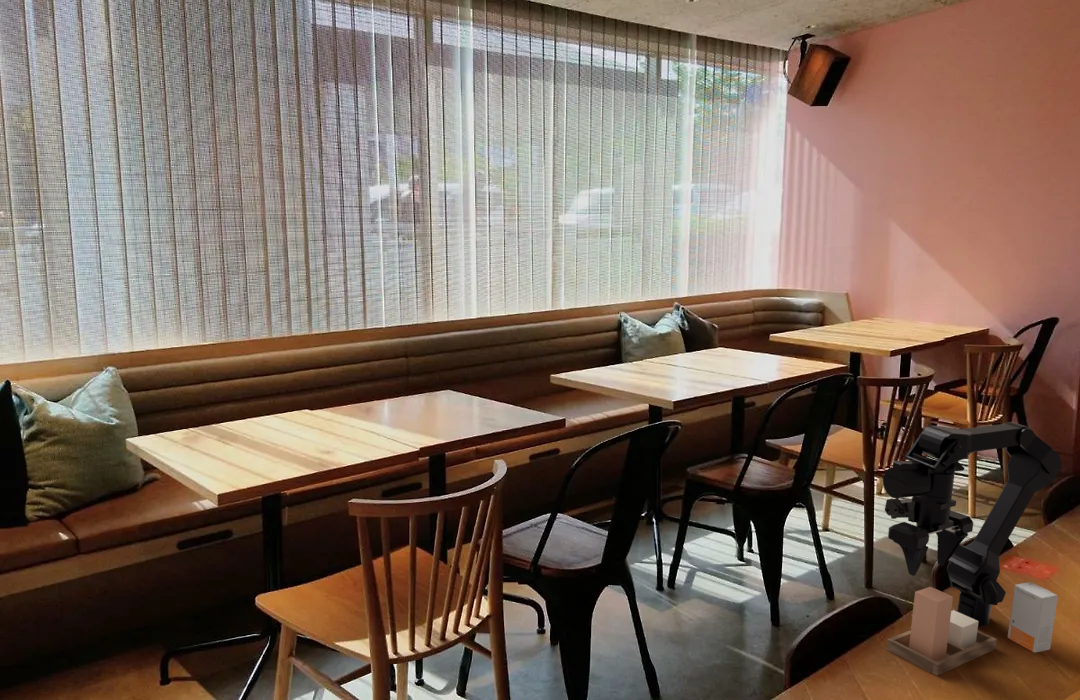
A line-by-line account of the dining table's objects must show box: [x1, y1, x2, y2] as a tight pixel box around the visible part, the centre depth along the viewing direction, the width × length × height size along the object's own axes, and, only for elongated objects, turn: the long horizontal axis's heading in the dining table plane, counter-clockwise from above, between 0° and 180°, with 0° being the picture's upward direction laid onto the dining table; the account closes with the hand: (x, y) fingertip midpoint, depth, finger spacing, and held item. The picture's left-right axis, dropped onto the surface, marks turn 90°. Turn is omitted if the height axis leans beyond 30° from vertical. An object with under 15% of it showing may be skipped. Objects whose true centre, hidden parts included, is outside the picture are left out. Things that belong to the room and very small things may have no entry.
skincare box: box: [1007, 581, 1059, 653], centre depth 157 cm, size 6×4×12 cm
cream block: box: [948, 609, 979, 649], centre depth 157 cm, size 5×5×5 cm
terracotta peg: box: [909, 586, 954, 662], centre depth 152 cm, size 4×4×12 cm
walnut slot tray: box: [886, 629, 998, 677], centre depth 155 cm, size 18×10×3 cm, turn 122°
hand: (926, 570), depth 161 cm, fingers open, 9 cm apart
